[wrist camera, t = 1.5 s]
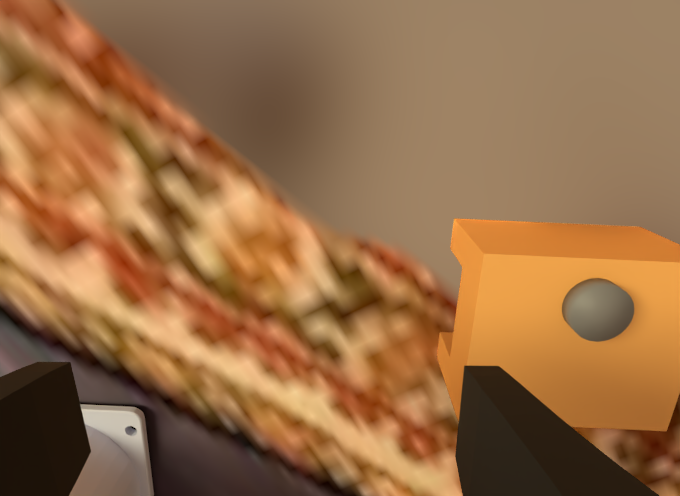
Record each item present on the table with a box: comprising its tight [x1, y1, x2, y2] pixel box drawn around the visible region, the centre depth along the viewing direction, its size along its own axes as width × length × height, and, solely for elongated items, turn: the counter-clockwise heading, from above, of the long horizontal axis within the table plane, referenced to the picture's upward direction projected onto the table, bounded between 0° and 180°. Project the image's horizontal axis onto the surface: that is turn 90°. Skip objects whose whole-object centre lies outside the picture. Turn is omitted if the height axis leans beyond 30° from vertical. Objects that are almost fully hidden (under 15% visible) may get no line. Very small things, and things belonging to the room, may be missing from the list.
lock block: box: [437, 218, 680, 431], centre depth 16 cm, size 6×7×5 cm
